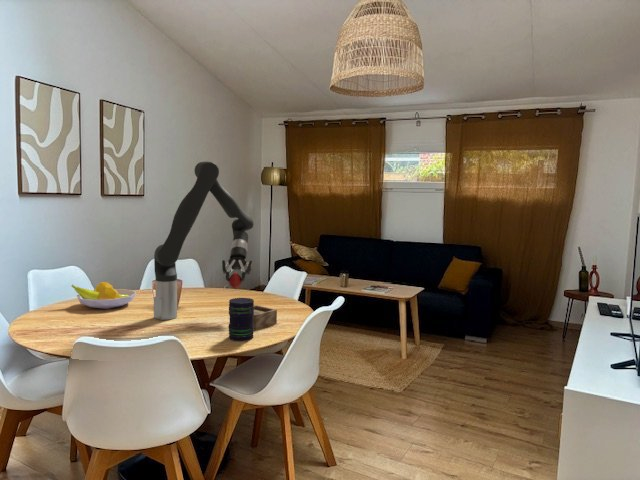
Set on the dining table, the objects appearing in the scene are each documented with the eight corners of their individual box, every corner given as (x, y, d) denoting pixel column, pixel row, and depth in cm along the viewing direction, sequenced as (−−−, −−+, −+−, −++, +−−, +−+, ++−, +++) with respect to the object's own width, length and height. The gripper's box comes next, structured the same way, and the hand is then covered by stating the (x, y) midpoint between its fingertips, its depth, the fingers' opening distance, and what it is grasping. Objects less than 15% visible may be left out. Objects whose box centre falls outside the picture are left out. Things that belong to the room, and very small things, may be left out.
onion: (231, 290, 203) (231, 273, 203) (227, 288, 209) (227, 271, 208) (243, 289, 206) (243, 272, 205) (239, 287, 211) (239, 270, 210)
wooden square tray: (255, 330, 194) (255, 315, 193) (234, 324, 201) (234, 310, 201) (276, 324, 204) (276, 309, 203) (255, 318, 212) (256, 305, 211)
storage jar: (226, 341, 177) (226, 303, 176) (230, 333, 187) (230, 297, 186) (252, 341, 178) (253, 303, 176) (254, 333, 187) (255, 297, 186)
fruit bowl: (143, 300, 242) (143, 278, 241) (122, 312, 215) (122, 289, 214) (89, 299, 241) (89, 277, 240) (62, 311, 214) (61, 287, 213)
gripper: (222, 245, 213) (217, 275, 202) (253, 246, 213) (250, 276, 202) (224, 255, 218) (219, 285, 208) (254, 256, 219) (251, 285, 208)
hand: (235, 280), depth 205 cm, fingers closed on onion, 5 cm apart
